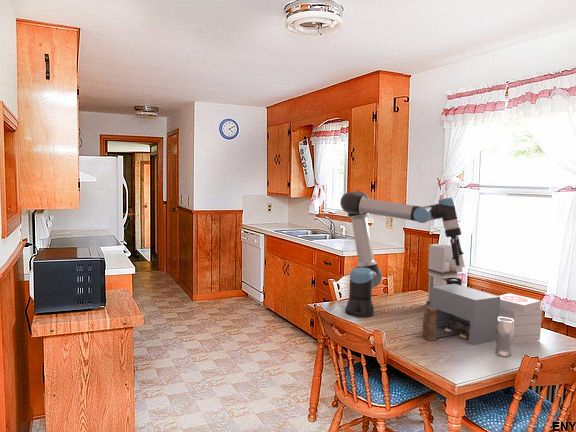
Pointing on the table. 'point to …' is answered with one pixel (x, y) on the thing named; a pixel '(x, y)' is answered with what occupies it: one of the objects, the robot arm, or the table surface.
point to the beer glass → (504, 336)
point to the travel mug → (454, 281)
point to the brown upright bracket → (430, 325)
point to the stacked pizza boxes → (522, 316)
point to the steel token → (449, 329)
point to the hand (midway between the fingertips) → (460, 269)
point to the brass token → (464, 335)
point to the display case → (440, 266)
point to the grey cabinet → (467, 310)
